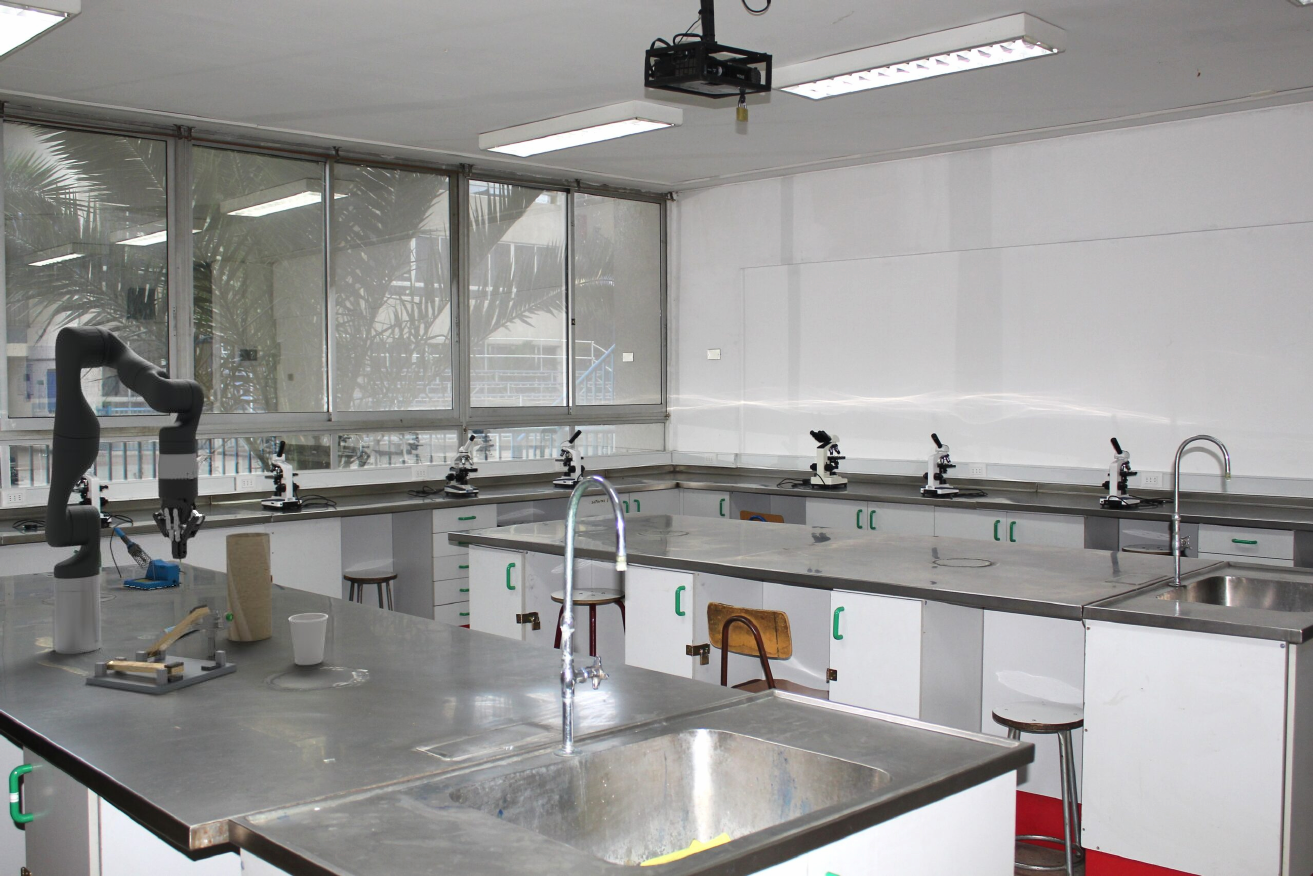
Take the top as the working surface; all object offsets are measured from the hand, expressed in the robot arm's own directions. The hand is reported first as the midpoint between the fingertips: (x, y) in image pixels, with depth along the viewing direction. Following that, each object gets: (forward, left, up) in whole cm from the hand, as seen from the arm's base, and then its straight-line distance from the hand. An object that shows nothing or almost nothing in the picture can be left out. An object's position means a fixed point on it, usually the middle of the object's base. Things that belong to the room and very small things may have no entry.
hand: (179, 558), depth 218 cm
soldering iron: (-94, +89, -25) cm, 132 cm away
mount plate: (-3, -2, -25) cm, 25 cm away
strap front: (-12, -7, -22) cm, 26 cm away
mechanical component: (-8, +16, -25) cm, 31 cm away
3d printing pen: (-31, +34, -29) cm, 54 cm away
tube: (-14, +34, -25) cm, 44 cm away
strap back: (-12, +3, -22) cm, 25 cm away
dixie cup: (+16, +20, -25) cm, 36 cm away
